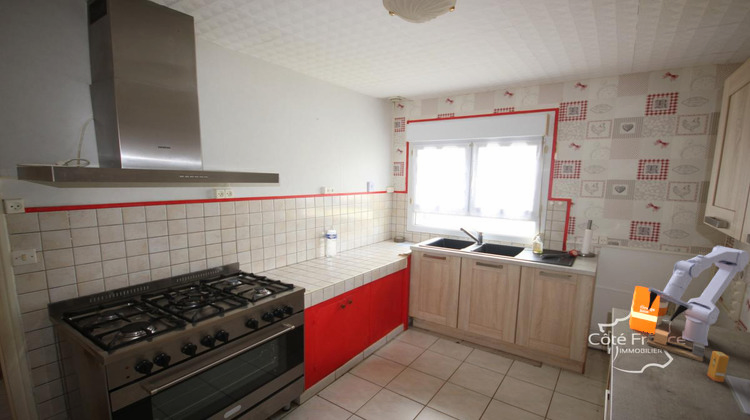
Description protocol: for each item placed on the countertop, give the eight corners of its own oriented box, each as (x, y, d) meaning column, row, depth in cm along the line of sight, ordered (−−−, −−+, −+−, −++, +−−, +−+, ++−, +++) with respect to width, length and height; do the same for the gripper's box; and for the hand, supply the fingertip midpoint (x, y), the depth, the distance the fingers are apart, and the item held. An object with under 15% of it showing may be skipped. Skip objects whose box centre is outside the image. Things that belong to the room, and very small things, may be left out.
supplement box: (724, 382, 114) (730, 357, 113) (713, 381, 115) (718, 355, 114) (717, 376, 118) (722, 351, 116) (706, 375, 118) (711, 350, 117)
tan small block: (654, 337, 141) (655, 328, 140) (666, 341, 138) (668, 332, 137) (653, 341, 137) (654, 332, 137) (665, 345, 135) (667, 336, 134)
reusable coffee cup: (627, 316, 163) (631, 288, 161) (643, 312, 167) (647, 285, 165) (655, 328, 151) (660, 298, 149) (672, 324, 156) (677, 295, 153)
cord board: (648, 337, 144) (649, 326, 143) (701, 353, 132) (704, 341, 131) (646, 344, 138) (648, 333, 137) (702, 362, 126) (704, 350, 125)
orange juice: (629, 321, 157) (635, 283, 154) (652, 327, 152) (659, 287, 149) (630, 328, 151) (636, 288, 148) (654, 334, 146) (661, 293, 143)
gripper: (655, 276, 136) (639, 304, 136) (700, 295, 127) (683, 325, 127) (654, 279, 141) (638, 305, 141) (697, 297, 132) (680, 326, 132)
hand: (659, 315), depth 134 cm, fingers open, 7 cm apart
